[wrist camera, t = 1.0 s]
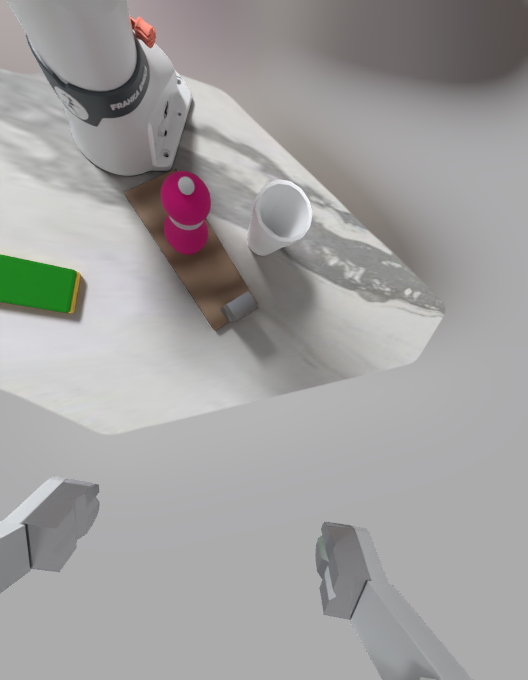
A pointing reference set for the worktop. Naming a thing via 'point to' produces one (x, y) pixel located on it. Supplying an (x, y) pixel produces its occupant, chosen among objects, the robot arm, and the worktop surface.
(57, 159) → the worktop surface
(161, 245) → the strip
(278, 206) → the foam cup
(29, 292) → the dish sponge
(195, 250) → the pepper mill
